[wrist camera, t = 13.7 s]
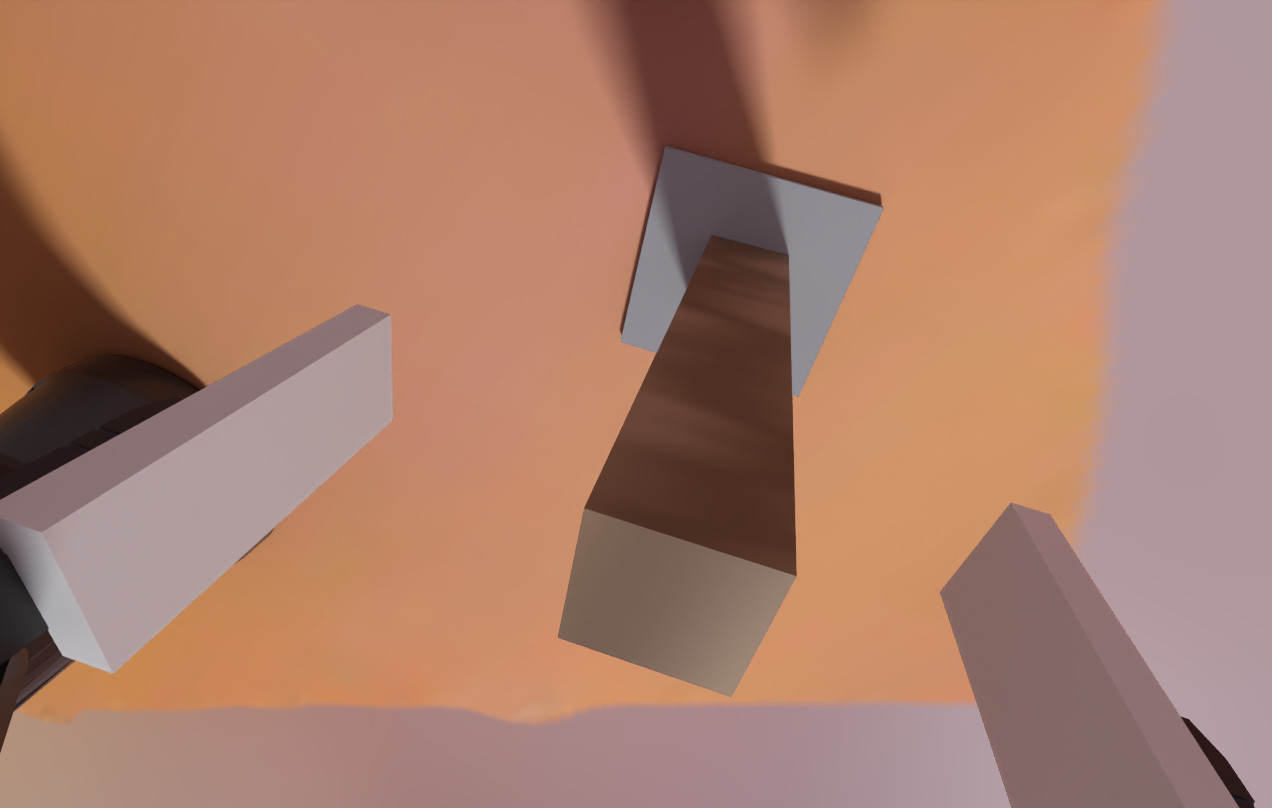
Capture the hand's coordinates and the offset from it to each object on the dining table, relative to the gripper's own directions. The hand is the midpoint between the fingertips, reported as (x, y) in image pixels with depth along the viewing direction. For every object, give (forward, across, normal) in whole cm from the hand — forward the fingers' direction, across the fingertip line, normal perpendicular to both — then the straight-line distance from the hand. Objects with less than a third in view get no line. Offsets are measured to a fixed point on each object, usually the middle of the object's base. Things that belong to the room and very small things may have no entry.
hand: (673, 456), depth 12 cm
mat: (+12, +1, 0) cm, 12 cm away
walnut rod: (+12, +1, 0) cm, 12 cm away
